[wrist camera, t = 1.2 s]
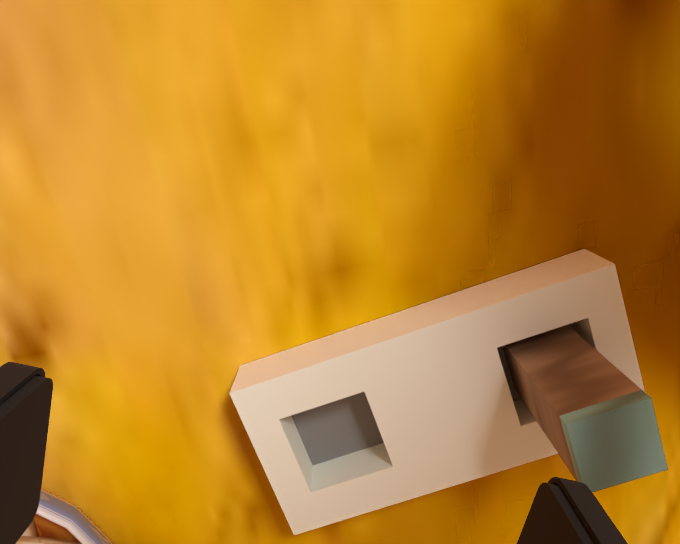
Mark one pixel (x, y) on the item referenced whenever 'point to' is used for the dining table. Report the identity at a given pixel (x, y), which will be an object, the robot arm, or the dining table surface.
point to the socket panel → (420, 392)
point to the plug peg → (586, 408)
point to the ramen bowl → (61, 524)
